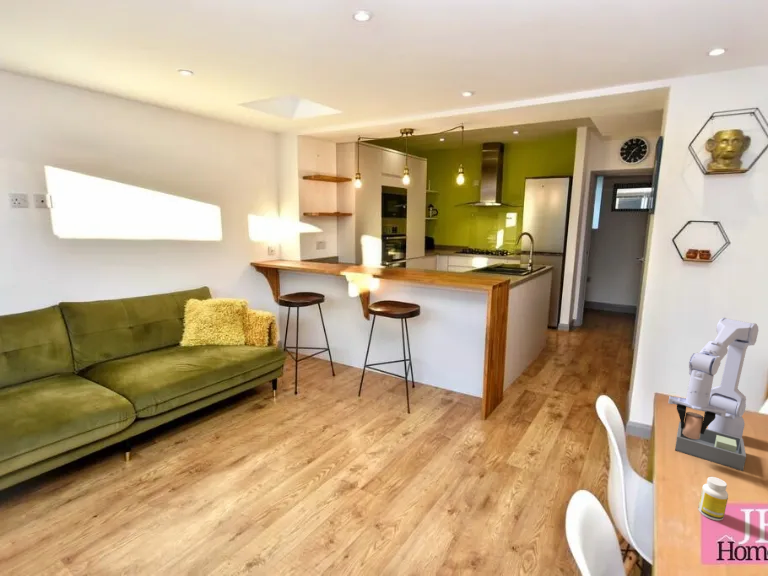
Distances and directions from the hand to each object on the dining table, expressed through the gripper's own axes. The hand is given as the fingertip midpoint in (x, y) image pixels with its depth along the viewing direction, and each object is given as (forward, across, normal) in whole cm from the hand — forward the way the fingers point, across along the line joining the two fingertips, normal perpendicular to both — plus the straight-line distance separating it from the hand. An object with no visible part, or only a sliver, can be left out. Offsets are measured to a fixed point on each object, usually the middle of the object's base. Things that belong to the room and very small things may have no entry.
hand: (692, 429), depth 133 cm
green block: (+10, +10, +10) cm, 17 cm away
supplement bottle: (+11, +5, -27) cm, 30 cm away
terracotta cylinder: (+2, 0, 0) cm, 2 cm away
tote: (+10, +6, +10) cm, 16 cm away
